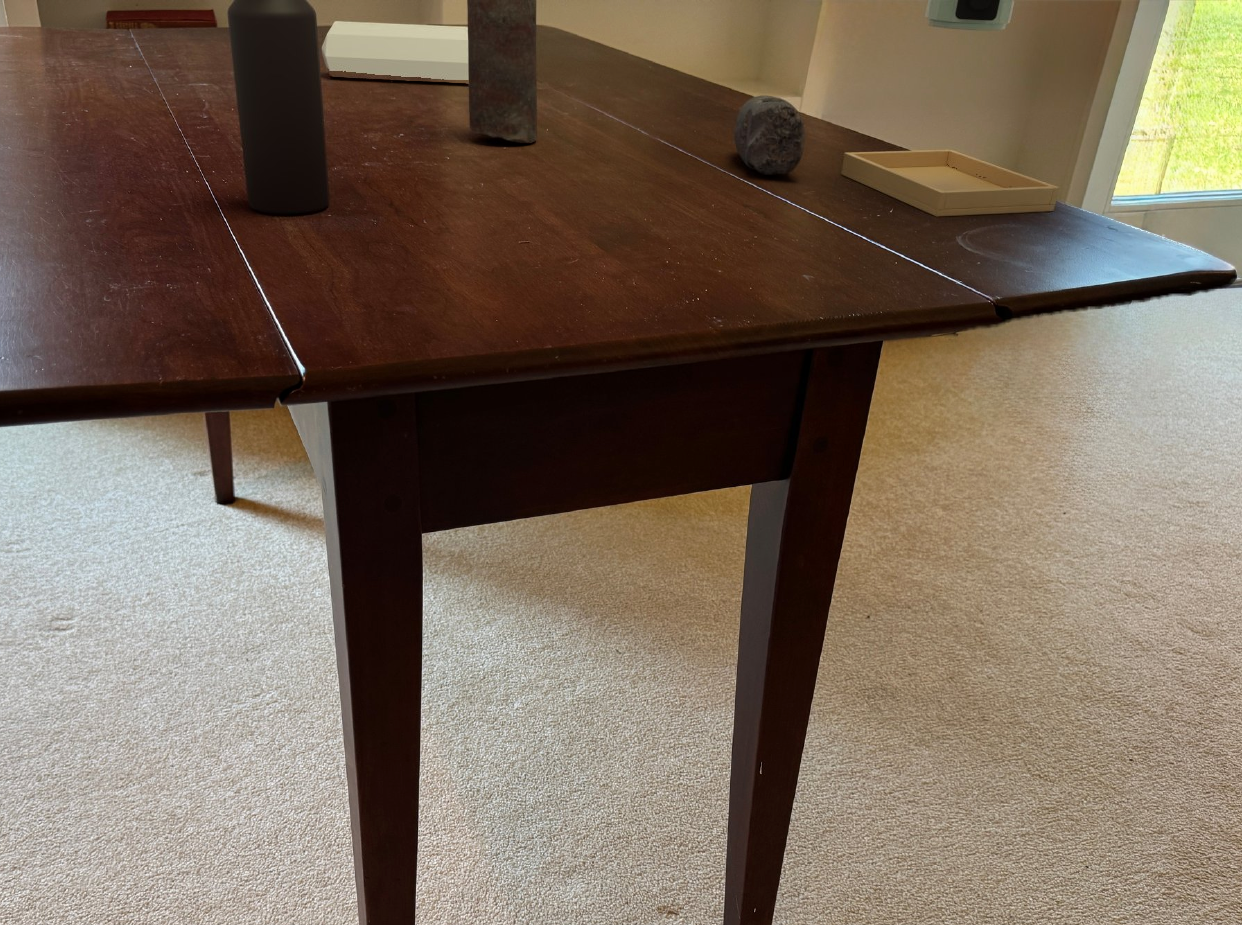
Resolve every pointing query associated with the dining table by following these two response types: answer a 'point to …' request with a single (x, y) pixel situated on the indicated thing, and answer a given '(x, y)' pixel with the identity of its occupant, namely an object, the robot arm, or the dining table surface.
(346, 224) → the dining table surface
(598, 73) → the dining table surface
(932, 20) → the mint green planter pot
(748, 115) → the perforated stone tool
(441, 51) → the white chamfered bar
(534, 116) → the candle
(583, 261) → the dining table surface
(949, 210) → the serving tray
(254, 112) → the bottle
